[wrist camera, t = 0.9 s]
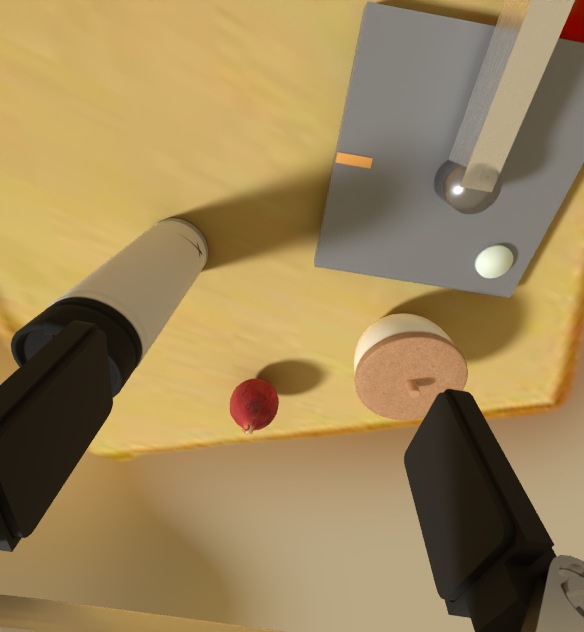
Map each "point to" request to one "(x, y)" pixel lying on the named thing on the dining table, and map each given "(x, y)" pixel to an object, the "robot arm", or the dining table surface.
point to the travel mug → (125, 297)
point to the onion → (254, 405)
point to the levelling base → (442, 158)
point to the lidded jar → (406, 366)
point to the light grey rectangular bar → (500, 102)
